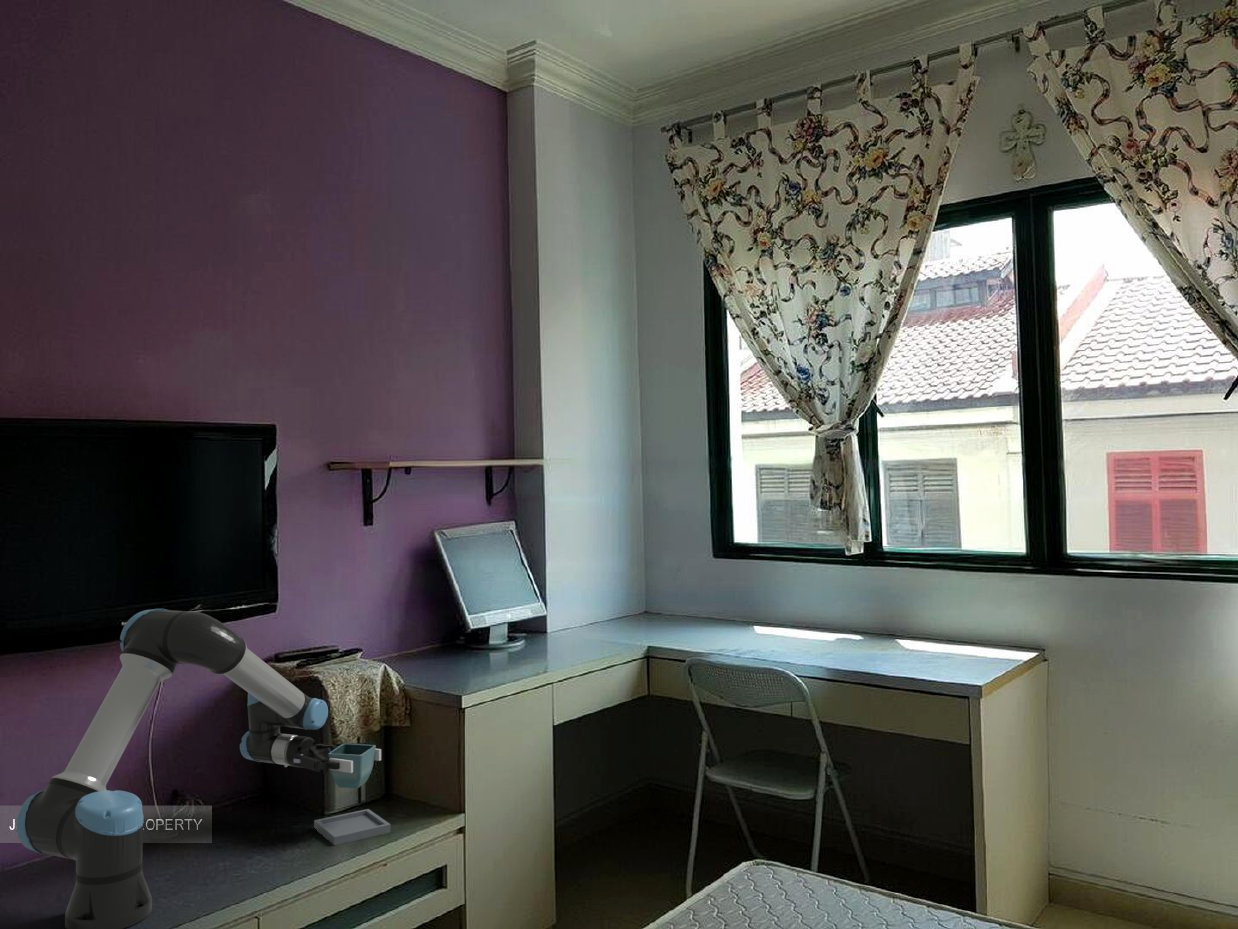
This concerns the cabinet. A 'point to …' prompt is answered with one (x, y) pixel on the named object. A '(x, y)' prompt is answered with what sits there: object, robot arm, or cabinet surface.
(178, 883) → the cabinet surface
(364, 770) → the flower pot
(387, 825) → the plant tray
